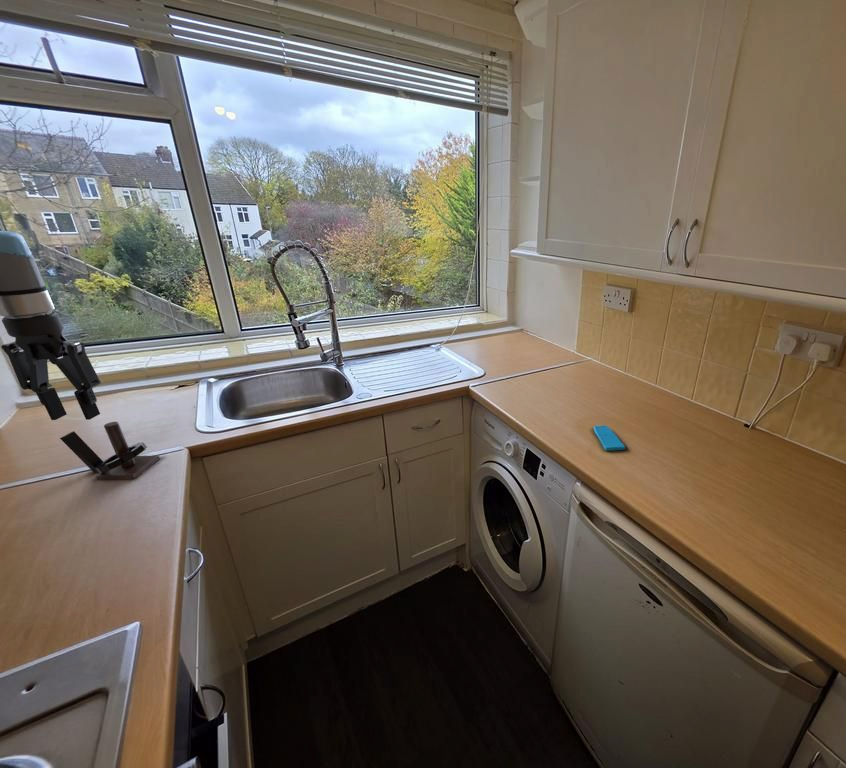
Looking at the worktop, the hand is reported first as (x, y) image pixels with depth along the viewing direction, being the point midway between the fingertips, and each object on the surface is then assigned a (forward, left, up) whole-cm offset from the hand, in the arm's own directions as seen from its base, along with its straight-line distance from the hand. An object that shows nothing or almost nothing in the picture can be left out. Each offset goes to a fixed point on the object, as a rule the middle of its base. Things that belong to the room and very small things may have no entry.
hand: (76, 416), depth 89 cm
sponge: (+125, +9, -14) cm, 126 cm away
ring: (+5, 0, -12) cm, 13 cm away
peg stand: (+7, 0, -14) cm, 15 cm away
